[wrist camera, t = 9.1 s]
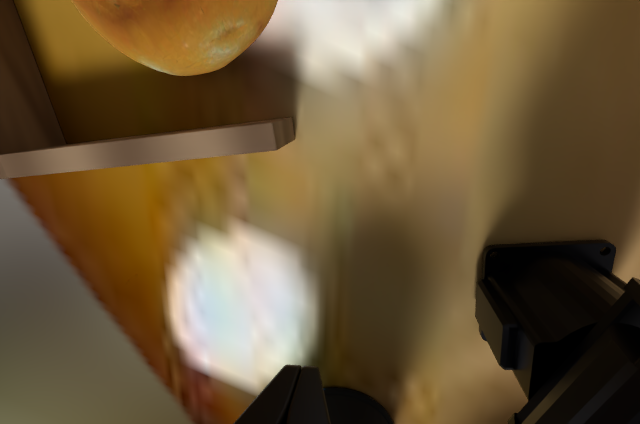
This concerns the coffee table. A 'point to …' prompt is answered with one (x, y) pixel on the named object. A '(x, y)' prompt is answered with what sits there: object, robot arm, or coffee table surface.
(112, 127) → the coffee table surface
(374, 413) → the aerosol can
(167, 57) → the fruit
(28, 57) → the tray
